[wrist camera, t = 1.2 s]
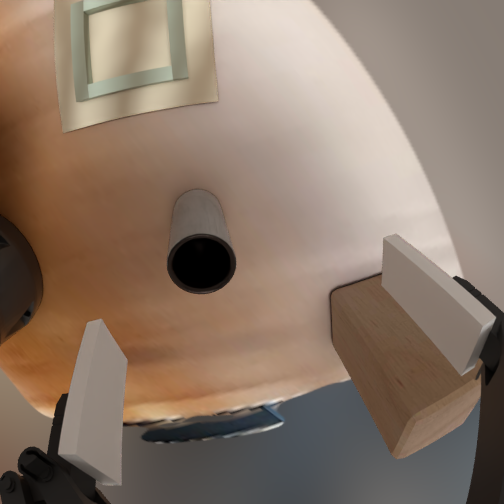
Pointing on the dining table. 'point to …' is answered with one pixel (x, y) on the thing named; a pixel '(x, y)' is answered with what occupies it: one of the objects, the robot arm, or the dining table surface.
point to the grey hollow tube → (199, 244)
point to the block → (399, 369)
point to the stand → (131, 58)
